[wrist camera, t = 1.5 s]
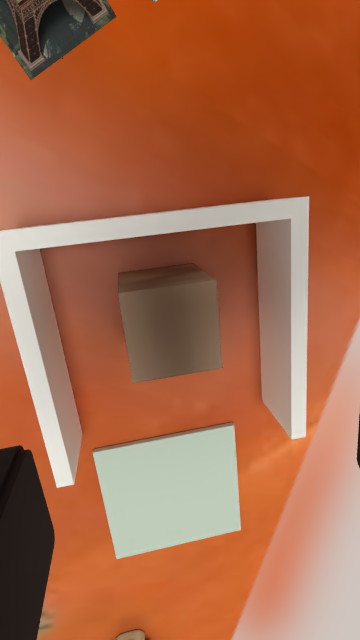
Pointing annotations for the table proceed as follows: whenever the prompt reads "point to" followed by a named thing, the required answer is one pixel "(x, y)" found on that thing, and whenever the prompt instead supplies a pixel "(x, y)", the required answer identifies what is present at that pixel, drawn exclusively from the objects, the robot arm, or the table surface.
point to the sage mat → (170, 489)
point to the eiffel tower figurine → (49, 28)
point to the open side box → (269, 215)
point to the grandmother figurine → (132, 635)
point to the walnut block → (170, 321)
